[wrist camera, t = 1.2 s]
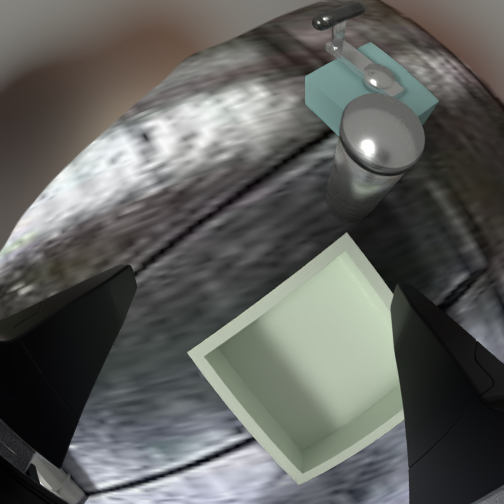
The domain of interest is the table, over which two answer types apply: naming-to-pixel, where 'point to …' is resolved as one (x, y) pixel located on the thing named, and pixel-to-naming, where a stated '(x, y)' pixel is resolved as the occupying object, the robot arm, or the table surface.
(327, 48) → the crank handle
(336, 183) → the pin
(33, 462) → the grey mallet
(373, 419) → the tray
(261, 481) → the table surface
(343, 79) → the crank block
